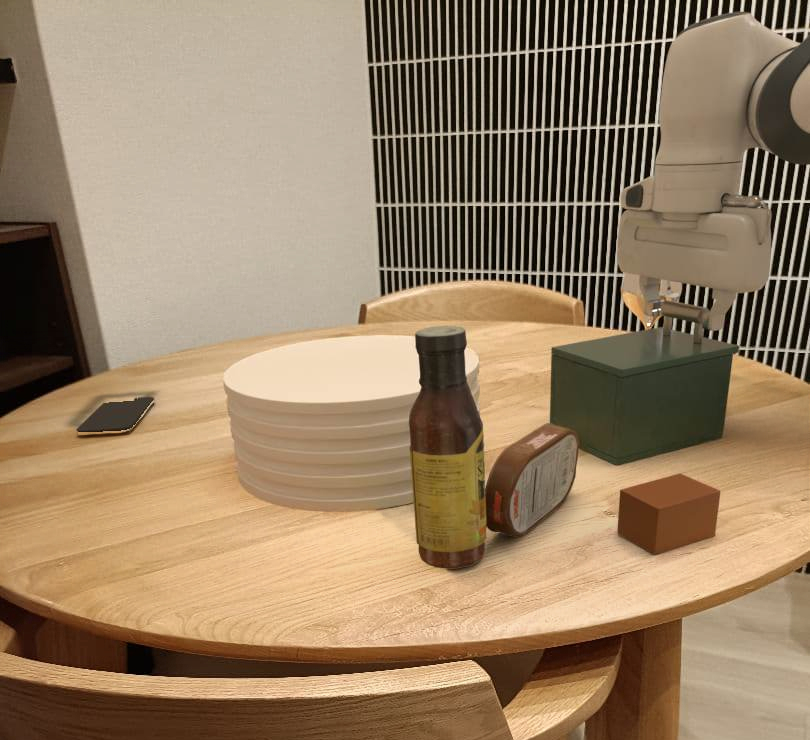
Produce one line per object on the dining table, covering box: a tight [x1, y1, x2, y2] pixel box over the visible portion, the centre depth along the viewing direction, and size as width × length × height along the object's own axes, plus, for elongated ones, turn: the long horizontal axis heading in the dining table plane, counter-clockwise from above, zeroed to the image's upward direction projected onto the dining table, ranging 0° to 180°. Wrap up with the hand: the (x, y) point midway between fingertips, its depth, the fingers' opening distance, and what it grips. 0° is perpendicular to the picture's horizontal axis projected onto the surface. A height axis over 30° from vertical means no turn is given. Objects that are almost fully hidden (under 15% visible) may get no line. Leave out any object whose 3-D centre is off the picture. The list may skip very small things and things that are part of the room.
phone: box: [75, 396, 155, 432], centre depth 115 cm, size 7×1×15 cm
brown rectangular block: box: [616, 473, 721, 556], centre depth 73 cm, size 7×5×4 cm
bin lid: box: [550, 300, 740, 377], centre depth 92 cm, size 16×13×5 cm
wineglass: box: [620, 272, 683, 330], centre depth 116 cm, size 8×8×18 cm
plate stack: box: [222, 334, 481, 513], centre depth 93 cm, size 28×28×12 cm
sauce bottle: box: [409, 325, 488, 570], centre depth 69 cm, size 6×6×20 cm
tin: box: [485, 422, 580, 538], centre depth 77 cm, size 15×3×8 cm, turn 145°
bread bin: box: [549, 354, 734, 466], centre depth 96 cm, size 16×13×10 cm
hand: (681, 322), depth 94 cm, fingers open, 8 cm apart
